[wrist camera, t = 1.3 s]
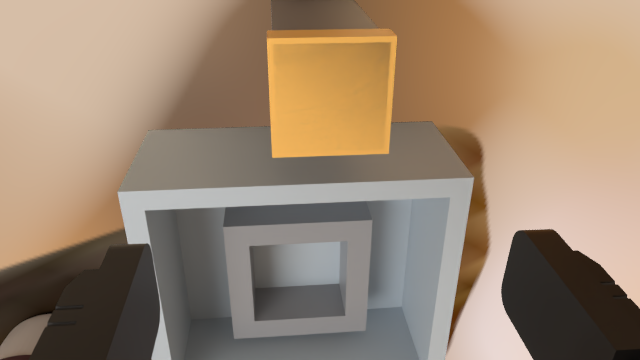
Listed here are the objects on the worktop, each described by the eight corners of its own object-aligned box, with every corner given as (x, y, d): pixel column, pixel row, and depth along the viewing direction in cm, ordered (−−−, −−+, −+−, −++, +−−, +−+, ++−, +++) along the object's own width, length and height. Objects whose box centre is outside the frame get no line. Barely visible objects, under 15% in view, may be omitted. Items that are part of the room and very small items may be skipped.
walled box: (148, 130, 29) (117, 191, 23) (432, 121, 30) (474, 177, 24) (179, 321, 36) (161, 409, 29) (411, 307, 37) (440, 388, 31)
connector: (266, -8, 26) (267, 38, 17) (353, -9, 27) (397, 36, 18) (270, 77, 28) (272, 157, 19) (351, 75, 29) (388, 153, 20)
